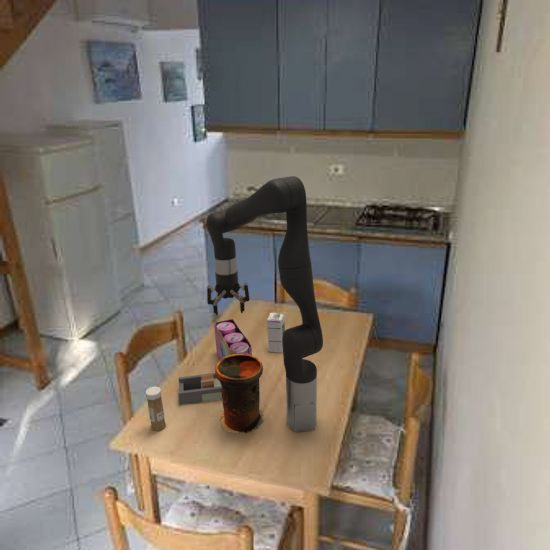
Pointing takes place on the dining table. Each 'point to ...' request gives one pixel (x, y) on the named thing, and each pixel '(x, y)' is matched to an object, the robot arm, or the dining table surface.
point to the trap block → (207, 381)
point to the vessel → (240, 392)
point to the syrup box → (275, 332)
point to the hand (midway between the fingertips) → (229, 313)
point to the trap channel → (198, 390)
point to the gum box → (230, 339)
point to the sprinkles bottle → (155, 408)
